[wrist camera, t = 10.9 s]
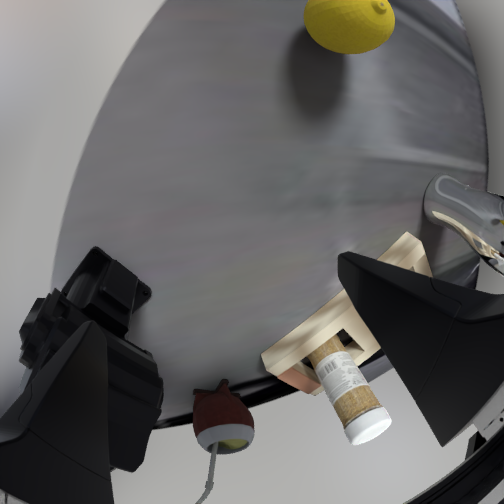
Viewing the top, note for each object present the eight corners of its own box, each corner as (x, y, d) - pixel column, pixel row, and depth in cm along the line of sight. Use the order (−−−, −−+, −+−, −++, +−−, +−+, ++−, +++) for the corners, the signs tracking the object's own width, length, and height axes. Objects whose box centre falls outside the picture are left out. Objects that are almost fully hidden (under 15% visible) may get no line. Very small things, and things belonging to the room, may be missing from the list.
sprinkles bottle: (313, 361, 33) (358, 448, 22) (297, 346, 31) (345, 444, 19) (343, 341, 33) (396, 425, 21) (330, 324, 30) (389, 417, 19)
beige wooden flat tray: (308, 382, 35) (315, 397, 33) (260, 354, 30) (267, 372, 28) (426, 285, 32) (439, 296, 30) (406, 231, 27) (423, 242, 25)
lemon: (311, -9, 14) (365, -45, 7) (361, 33, 16) (427, 17, 10) (274, 30, 16) (322, -6, 9) (329, 73, 18) (396, 64, 11)
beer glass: (458, 208, 28) (548, 266, 15) (424, 236, 28) (518, 309, 15) (452, 159, 24) (561, 209, 11) (415, 185, 25) (534, 252, 12)
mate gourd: (252, 380, 32) (288, 487, 19) (229, 411, 35) (254, 504, 22) (195, 373, 29) (215, 495, 17) (178, 406, 32) (192, 508, 19)
